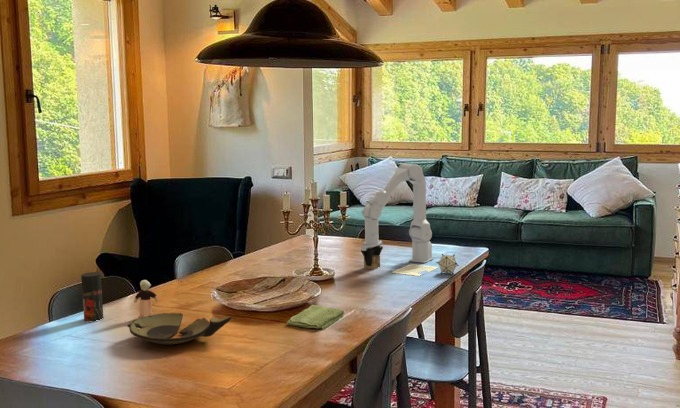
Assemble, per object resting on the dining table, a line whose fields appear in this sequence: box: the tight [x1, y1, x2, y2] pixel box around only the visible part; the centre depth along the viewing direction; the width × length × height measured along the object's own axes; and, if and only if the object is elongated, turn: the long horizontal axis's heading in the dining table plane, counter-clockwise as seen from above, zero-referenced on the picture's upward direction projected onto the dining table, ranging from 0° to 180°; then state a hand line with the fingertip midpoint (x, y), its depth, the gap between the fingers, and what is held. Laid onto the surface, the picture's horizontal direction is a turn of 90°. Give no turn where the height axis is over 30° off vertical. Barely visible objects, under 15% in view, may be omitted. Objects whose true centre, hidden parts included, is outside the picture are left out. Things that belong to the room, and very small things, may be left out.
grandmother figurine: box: [133, 279, 159, 319], centre depth 217 cm, size 8×4×13 cm, turn 105°
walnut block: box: [363, 255, 381, 270], centre depth 284 cm, size 5×5×5 cm
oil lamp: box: [126, 312, 233, 346], centre depth 194 cm, size 22×30×8 cm
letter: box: [391, 263, 440, 277], centre depth 278 cm, size 18×13×1 cm
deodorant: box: [80, 271, 104, 322], centre depth 216 cm, size 6×6×15 cm
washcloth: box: [286, 304, 345, 331], centre depth 212 cm, size 13×18×3 cm
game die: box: [436, 253, 460, 275], centre depth 271 cm, size 9×8×10 cm
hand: (372, 264), depth 284 cm, fingers closed on walnut block, 5 cm apart
